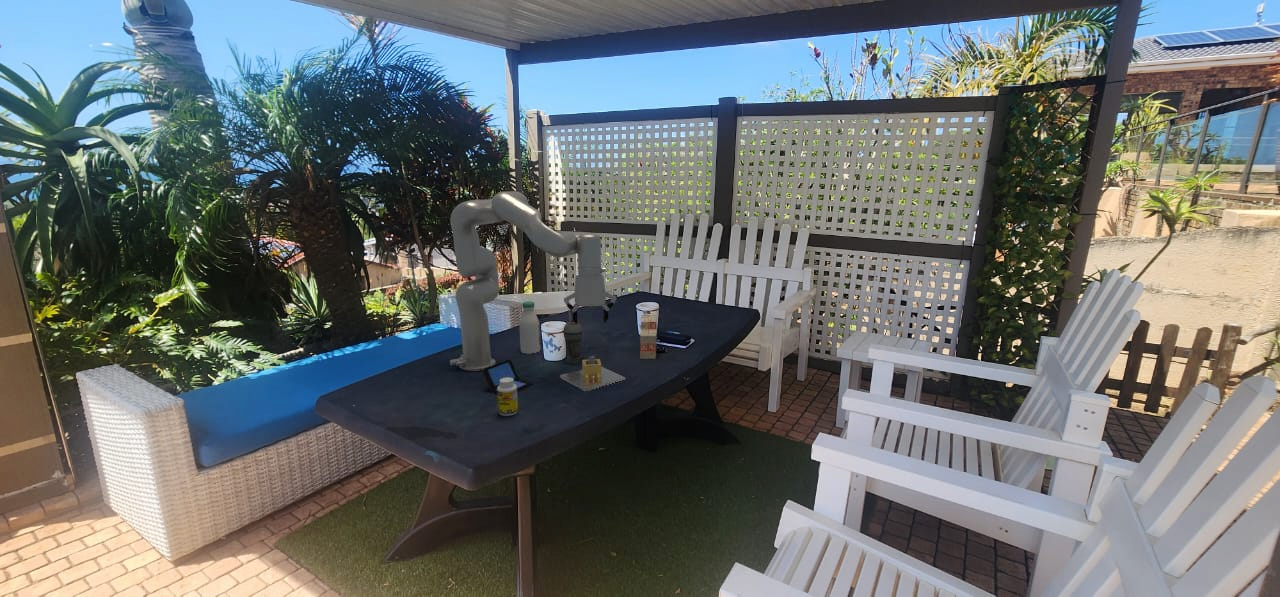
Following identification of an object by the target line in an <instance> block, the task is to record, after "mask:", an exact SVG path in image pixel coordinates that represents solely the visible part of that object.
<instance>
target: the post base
mask: <svg viewBox="0 0 1280 597" xmlns="http://www.w3.org/2000/svg"><path fill="white" fill-rule="evenodd" d="M595 359H596V356H595V355H589V356H588V360H589V364H595ZM601 376H602V379H601V383H598V381H597V379H595V382H591V380H589V384H586V382H585V380H584V379H583V368H582V369H579V370H576V371H575V370H574V371H571V372H567V373H564V374H560V375H559V379H561V380H563V381H564V382H567V383H569V384H570V385H572V386H574V387H576V388H577V387H578V388H577V389H580V390H581V391H583V392H584V393H586V391H587V392H590V391H593V389H594V390H597V389H600V388H599V387H601V388H603V387H602V386H604V387H606V386H605V385H607V386H610V385H609V384H611V385H613V384H612V383H614V384H616V383H615V382H618V383H620V382H619V381H621V382H623V381H622V380H625V381H626V377H625V376H622V375H620V374H619V373H616V372H614V371H612V370H610V369H607V368H605V367H604V366H601ZM596 388H597V389H596Z"/></svg>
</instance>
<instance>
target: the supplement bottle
mask: <svg viewBox="0 0 1280 597" xmlns="http://www.w3.org/2000/svg"><path fill="white" fill-rule="evenodd" d="M496 395H497V406H498V407H497V408H498V413H499V415H500V416H502V417H510V416H511V417H512V416H513V415H516V414H517V413H518V411H519V402H518V399H519V398H518V392H517V386H516V385H515V384H514V379H513V378H509V377H507V378H502V379H500V385H499V386H498V387H497V394H496Z"/></svg>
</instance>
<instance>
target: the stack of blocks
mask: <svg viewBox="0 0 1280 597" xmlns="http://www.w3.org/2000/svg"><path fill="white" fill-rule="evenodd" d="M639 339H640V340H639V341H640V342H639V358H640V359H644V360H645V359H649V360H650V359H653V360H655V359H657V314H641V316H640V333H639Z"/></svg>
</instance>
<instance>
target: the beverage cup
mask: <svg viewBox="0 0 1280 597" xmlns="http://www.w3.org/2000/svg"><path fill="white" fill-rule="evenodd" d="M567 312H568V318H569V321H567V322H566V323H565V324H564V326H563V330H562V332H563V337H564V342H565V350H566V359H567V362H568V363H569V364H578V363H579V362H580V361H581V354H582V352H581V350H582V337H583V326H582V325H581V324H580V323H579V322H578V321H577V324H575V321H573V320H572V316H571V310H570V309H569V308H568V309H567Z"/></svg>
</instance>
